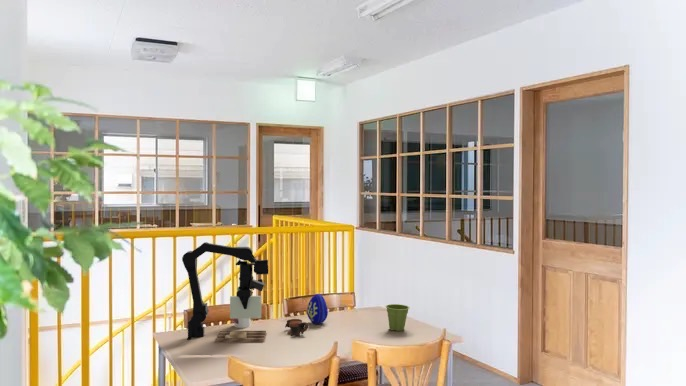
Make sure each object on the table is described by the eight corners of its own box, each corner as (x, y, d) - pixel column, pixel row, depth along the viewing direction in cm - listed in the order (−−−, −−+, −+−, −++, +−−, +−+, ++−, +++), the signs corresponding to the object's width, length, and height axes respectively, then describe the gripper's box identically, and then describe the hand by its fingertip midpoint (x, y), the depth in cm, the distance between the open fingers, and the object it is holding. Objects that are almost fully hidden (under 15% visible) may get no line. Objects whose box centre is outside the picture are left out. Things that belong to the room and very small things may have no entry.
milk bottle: (251, 325, 266) (251, 285, 265) (248, 329, 258) (248, 288, 258) (236, 325, 266) (235, 285, 266) (232, 329, 259) (232, 288, 258)
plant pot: (401, 333, 256) (401, 310, 256) (380, 329, 263) (380, 306, 263) (413, 329, 266) (414, 306, 266) (393, 325, 273) (393, 303, 273)
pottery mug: (281, 337, 249) (281, 319, 253) (290, 341, 257) (290, 324, 261) (304, 333, 245) (304, 315, 250) (313, 337, 253) (313, 320, 257)
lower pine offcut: (224, 341, 235) (225, 336, 235) (226, 339, 239) (226, 334, 239) (245, 341, 236) (245, 336, 236) (246, 339, 239) (246, 334, 239)
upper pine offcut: (229, 336, 236) (229, 333, 236) (230, 334, 239) (230, 331, 239) (245, 336, 236) (245, 333, 236) (246, 334, 239) (246, 331, 239)
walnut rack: (214, 344, 234) (214, 338, 234) (219, 335, 249) (219, 329, 249) (264, 344, 235) (264, 338, 235) (267, 335, 250) (267, 329, 250)
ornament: (303, 322, 275) (304, 293, 275) (317, 319, 281) (318, 291, 281) (317, 326, 267) (318, 296, 267) (331, 323, 273) (331, 294, 273)
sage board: (229, 318, 245) (230, 296, 245) (230, 317, 246) (230, 296, 246) (260, 318, 246) (261, 296, 246) (261, 317, 247) (261, 295, 247)
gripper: (261, 278, 237) (261, 313, 237) (265, 271, 256) (264, 304, 256) (236, 278, 236) (236, 313, 237) (241, 271, 255) (241, 304, 255)
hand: (245, 308), depth 246 cm, fingers closed on sage board, 2 cm apart
